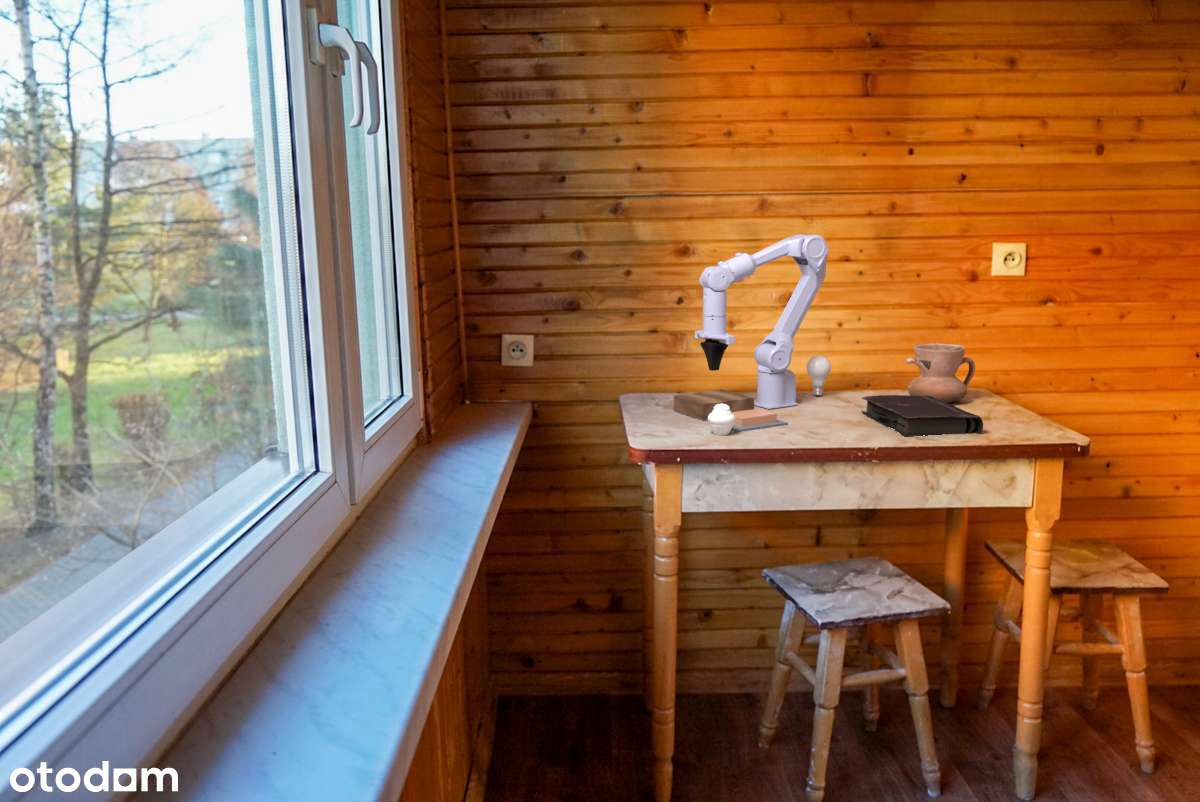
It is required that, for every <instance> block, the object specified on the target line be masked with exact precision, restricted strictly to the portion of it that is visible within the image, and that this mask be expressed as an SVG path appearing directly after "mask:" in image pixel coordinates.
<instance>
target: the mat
mask: <svg viewBox="0 0 1200 802" xmlns="http://www.w3.org/2000/svg"><path fill="white" fill-rule="evenodd" d="M705 421H706V422H708V423H709V421H708V419H706V420H705ZM786 424H788V425H789V422H786V421H783V420H780V419H777V418H776V422H775V423H768V424H761V425H754V426H747V427H739V426H736V425H733V427H732V429H733V431H735V430H736V431H735V432H744V431H753V430H760V428H761V429H765V428H766V427H767V428H773V427H772V426H774V427H780V426H779V425H781V426H786ZM732 429H731V430H732Z"/></svg>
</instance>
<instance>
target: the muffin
mask: <svg viewBox="0 0 1200 802" xmlns="http://www.w3.org/2000/svg"><path fill="white" fill-rule="evenodd" d="M708 421H709V422H708ZM708 421H707V422H708V424H709V427H710V428H711V430H712V432H713V434H714V435H716V434H717V435H716V436H728V435H729V433H730V432H731V431H732V427H733V425H734V422H735V416H734V415H733V414H732V412H731V411H730V407H729V406H728V405H726V404H722V403H721V404H717V405H715V406H714V410H713V411H712V413H710V414H709V416H708Z"/></svg>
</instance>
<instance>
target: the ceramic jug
mask: <svg viewBox="0 0 1200 802" xmlns="http://www.w3.org/2000/svg"><path fill="white" fill-rule="evenodd" d="M913 348H914V350H913V351H914V356H915V357H908V358H906V359H905V364H906V365H909V364H914V365H915V366H917V367H918V369H919V371H920V375H918V376H916V378H913V379H912V380H910V381H909V383H908V384H907V388H906V389H907V391H908V395H909V396H919V395H921V396H922V395H930V396H932V397H934V398H936V399H938V400H940V401H942V402H945V403H948V404H950V403H954V402H957V401H960V400H962V399H963V398H964V397H966V395H967V394H968V385H969V383H970V382H971V380H972V379H973V377H974V375H975V370H976V363H975V361H974V359H972V358H971V357H965V353H966V347H965V346H964V345H958V344H953V343H952V344H949V343H923V344H917V345H916V344H915V345H914V347H913ZM966 363H967V364H968V371H967V375H966V377H965V379H964V380H963V381H962V380H960V379H959V378H958V377H957V376H956V373H957V371H958V369H959V368H960V366H962V365H964V364H966Z"/></svg>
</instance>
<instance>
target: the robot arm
mask: <svg viewBox="0 0 1200 802" xmlns="http://www.w3.org/2000/svg"><path fill="white" fill-rule="evenodd" d="M829 253H830V249H829V247H828V245H827V242H826V239H825V238H824V237H822V236H821V235H819V234H803V233H802V234H801V233H798V234H795V235H793V236H789V237H786V238H784V239H782V240H780V241H778V242H775V243H773V244H772V245H770V246H768V247H764V248H763V249H762V250H759V251H758V252H755V253H754V254H751V255H750V254H748V253H746V252H743V253H742V252H736V253H735V254H734V256H733V257H732V258H729V259H727V260H725V261H722V260H721V261H717V266H714V265H712V266H708V267H706V268H705V269H703V271H702V272H701V275H700V277H699V283H700V285H701V286H702V288H703V291H702V292H703V294H702V295H703V296H702V297H703V298H702V329H698V330H694V339H701V340H704V341H701V342H700V347H701V348H702V350H703V352H704V355H705V358H706V361H707V367H708V370H709V371H719V370H720V368H721V363H722V359H723V356H724V353H725V352H726V350H727V348H728V346H729V345H735V344H736V336H735V335H731V334H729V333H727V298H728V297H727V290H728V288H729V287H730V285H733V284H734V283H736V282H739V281H741V280H744V279H746V278H749V277H751V276H753V275H754V274H755V272H756V270H757V268H758V267H761V266H763V265H766V264H768V263H771V262H774V261H777V260H779V259H781V258H784V257H792V259H793V260H794V261H795V263H796V264H797V265H798V268H799V270H800V272H801V276H800V279H799V281H798V282H797V284H796V286H795V288H794V290H793V292H792V293H791V296H790V298H789V300H788V302H787V303H786V306H785V307H784V310H783V311H782V313H781V315H780V317H779V318H778V321H777V322H776V325H775V326H774V329H773V330H772V331H770V333H768V334H767V335H766V336H765V337H764V339H763V341H762V342H761V343H759V344H758V345H757V346H756V348H755V349H754V352H753V357H754V358H753V359H754V361H755V362H756V364H758V365H757V378H756V379H757V381H756V382H757V383H756V384H757V385H756V387H757V388H756V389H757V390H756V399H757V400H754V406H757V407H760V408H764V409H767V410H768V409H769V410H770V409H771V410H772V409H777V408H786V407H791V406H792V407H793V406H794V407H795V406H798V405H799V403H798V402H796V399H797V398H796V397H797V396H796V395H797V378H796V376H795V373H794V372H793V371H792V370H791V369H788V368H789V366H790V365H791V362H792V353H793V351H794V349H795V345H794V341H793V340H794V338H795V336H796V334H797V333H798V331H799V329H800V326H801V324H802V322H803V321H804V319H805V318H806V317H805V316H806V315H807V313H808V311H809V310H810V307H811V306H812V304H813V302H814V299H815V298H816V296H817V295H818V292H819V290H820V288H821V286H822V284H823V282H824V281H825V279H826V276H827V275H826V274H827V257H828V255H829Z"/></svg>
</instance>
